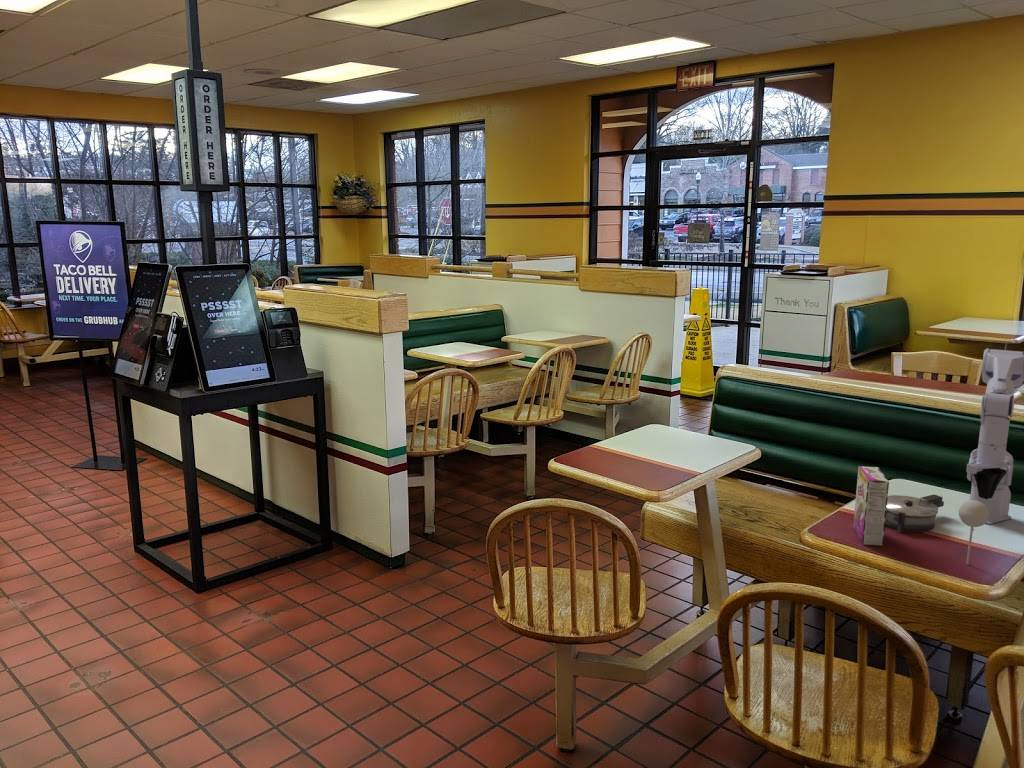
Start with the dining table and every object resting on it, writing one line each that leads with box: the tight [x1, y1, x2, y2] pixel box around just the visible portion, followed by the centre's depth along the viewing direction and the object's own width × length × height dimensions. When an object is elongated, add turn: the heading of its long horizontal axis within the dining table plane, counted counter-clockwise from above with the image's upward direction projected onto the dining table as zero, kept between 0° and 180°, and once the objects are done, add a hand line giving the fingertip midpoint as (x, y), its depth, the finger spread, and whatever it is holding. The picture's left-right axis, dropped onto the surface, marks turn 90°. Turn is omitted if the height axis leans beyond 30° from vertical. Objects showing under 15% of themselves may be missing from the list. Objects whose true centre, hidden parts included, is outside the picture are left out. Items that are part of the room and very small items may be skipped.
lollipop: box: [958, 500, 989, 566], centre depth 179 cm, size 6×6×15 cm
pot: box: [885, 500, 945, 534], centre depth 206 cm, size 20×13×5 cm, turn 117°
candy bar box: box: [852, 465, 890, 547], centre depth 194 cm, size 11×5×16 cm, turn 168°
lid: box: [886, 494, 944, 517], centre depth 205 cm, size 19×14×2 cm
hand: (985, 497), depth 193 cm, fingers closed
